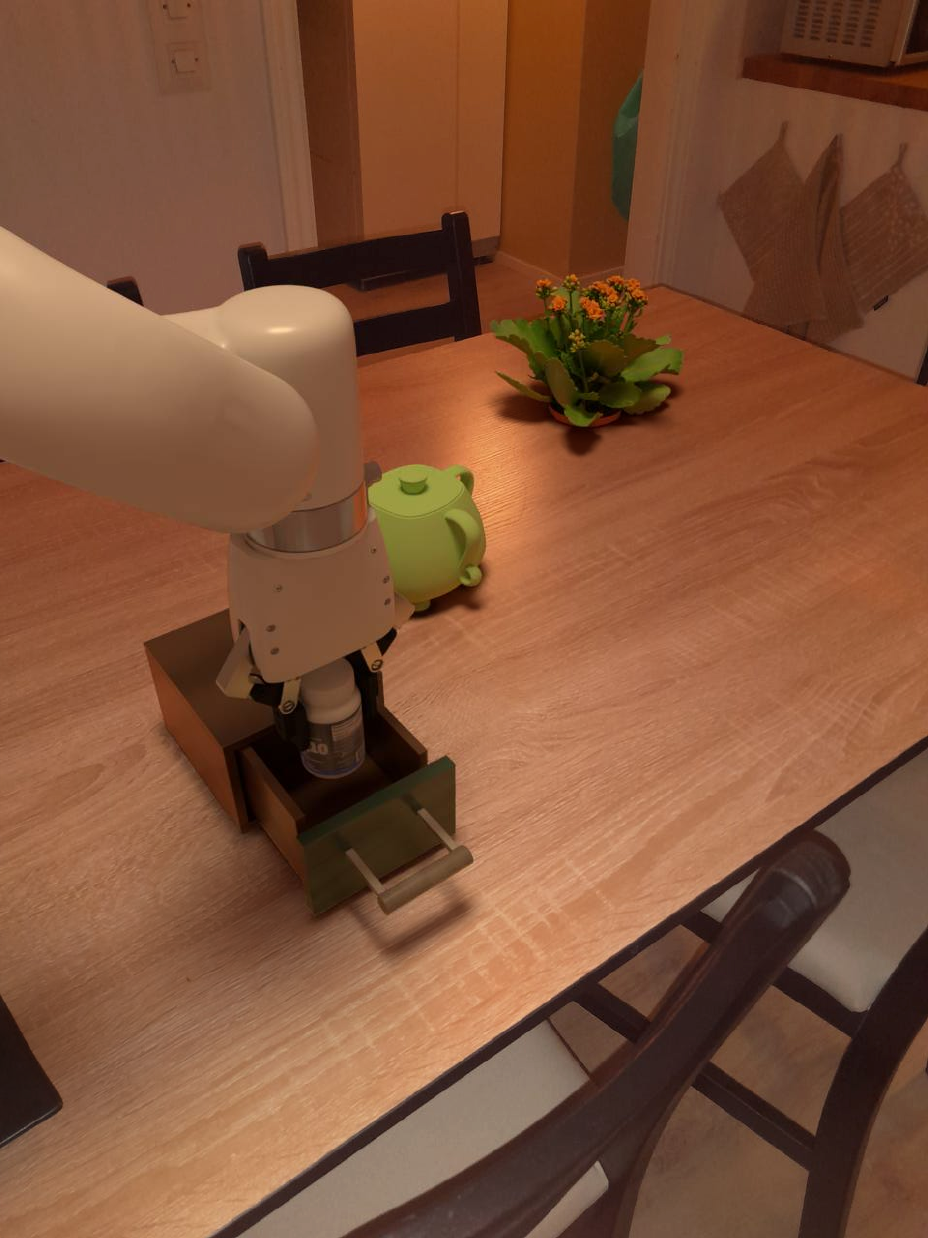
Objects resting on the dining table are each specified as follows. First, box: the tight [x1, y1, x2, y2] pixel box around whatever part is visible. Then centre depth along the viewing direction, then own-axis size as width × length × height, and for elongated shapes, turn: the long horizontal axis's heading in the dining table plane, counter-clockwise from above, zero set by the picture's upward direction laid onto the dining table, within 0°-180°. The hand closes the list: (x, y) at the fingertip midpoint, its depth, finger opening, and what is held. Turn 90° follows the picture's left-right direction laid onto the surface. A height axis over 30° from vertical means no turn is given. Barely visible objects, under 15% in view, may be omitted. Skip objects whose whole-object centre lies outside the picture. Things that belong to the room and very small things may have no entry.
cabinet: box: [142, 607, 385, 834], centre depth 80 cm, size 15×14×10 cm
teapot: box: [368, 463, 487, 612], centre depth 97 cm, size 16×14×13 cm
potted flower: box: [489, 273, 684, 428], centre depth 125 cm, size 25×24×18 cm
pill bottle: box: [298, 657, 365, 779], centre depth 69 cm, size 5×5×8 cm
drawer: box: [234, 698, 474, 917], centre depth 71 cm, size 19×12×8 cm, turn 37°
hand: (329, 720), depth 69 cm, fingers closed on pill bottle, 4 cm apart
